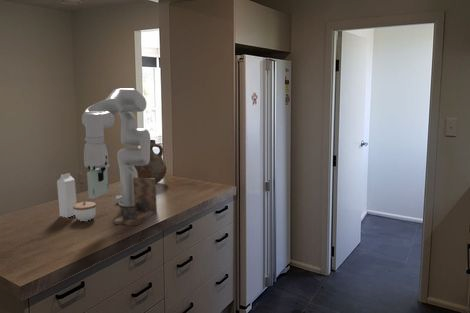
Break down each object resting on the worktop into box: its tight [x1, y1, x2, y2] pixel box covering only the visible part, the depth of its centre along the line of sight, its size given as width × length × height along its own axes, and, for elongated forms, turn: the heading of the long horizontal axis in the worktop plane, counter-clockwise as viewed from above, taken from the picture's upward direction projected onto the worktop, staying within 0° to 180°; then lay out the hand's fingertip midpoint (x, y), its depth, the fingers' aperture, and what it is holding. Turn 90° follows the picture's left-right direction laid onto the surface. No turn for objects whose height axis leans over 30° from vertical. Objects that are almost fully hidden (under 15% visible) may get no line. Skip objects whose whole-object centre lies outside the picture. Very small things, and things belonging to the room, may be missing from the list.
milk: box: [56, 172, 78, 218], centre depth 205 cm, size 6×6×22 cm
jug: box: [134, 139, 167, 186], centre depth 271 cm, size 22×22×30 cm
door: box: [86, 167, 109, 200], centre depth 184 cm, size 2×12×12 cm, turn 165°
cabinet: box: [113, 177, 158, 226], centre depth 202 cm, size 12×22×18 cm, turn 165°
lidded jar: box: [73, 200, 97, 222], centre depth 200 cm, size 11×11×9 cm
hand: (98, 180), depth 184 cm, fingers closed on door, 2 cm apart
